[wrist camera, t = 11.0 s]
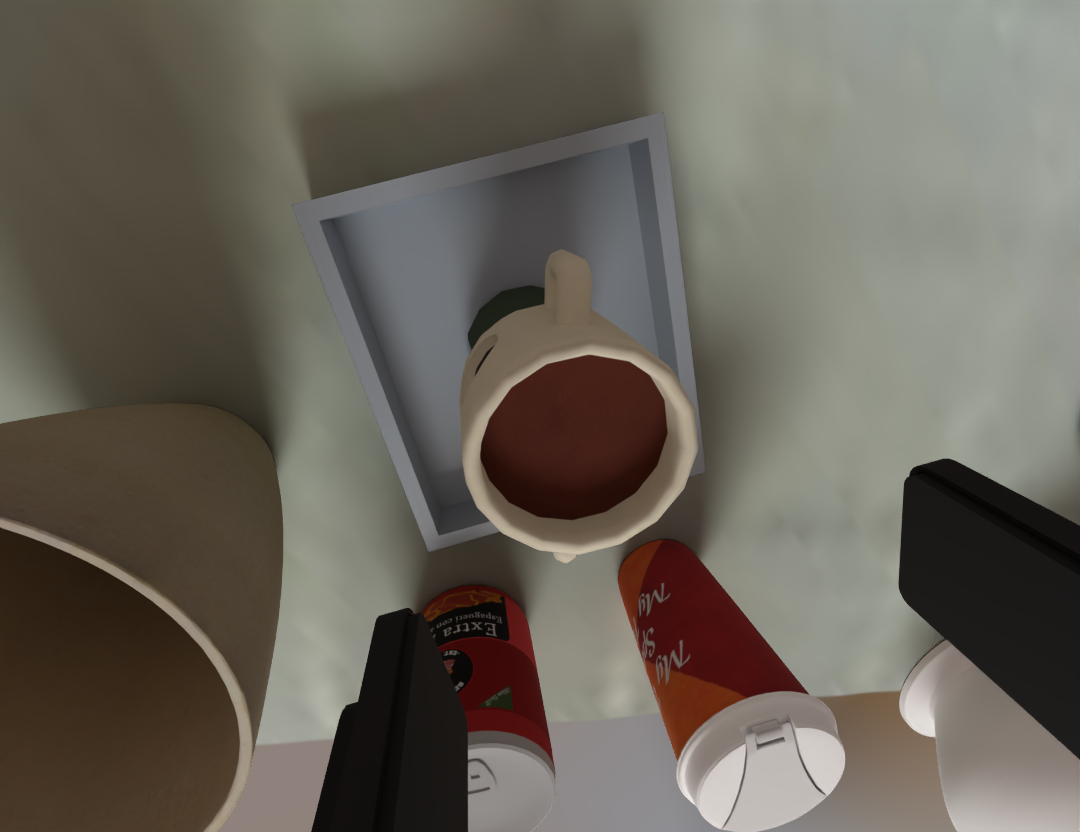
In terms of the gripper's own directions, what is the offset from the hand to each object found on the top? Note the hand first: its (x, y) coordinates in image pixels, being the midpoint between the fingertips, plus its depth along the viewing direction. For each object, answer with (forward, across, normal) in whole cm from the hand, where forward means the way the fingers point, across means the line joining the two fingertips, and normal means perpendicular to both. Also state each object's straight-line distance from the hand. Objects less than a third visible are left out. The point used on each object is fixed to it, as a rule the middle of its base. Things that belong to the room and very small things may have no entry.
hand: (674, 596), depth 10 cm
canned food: (+20, +9, +18) cm, 28 cm away
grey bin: (+20, +1, 0) cm, 20 cm away
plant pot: (+20, +19, +2) cm, 27 cm away
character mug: (+19, +1, 0) cm, 19 cm away
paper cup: (+20, -4, +18) cm, 27 cm away
